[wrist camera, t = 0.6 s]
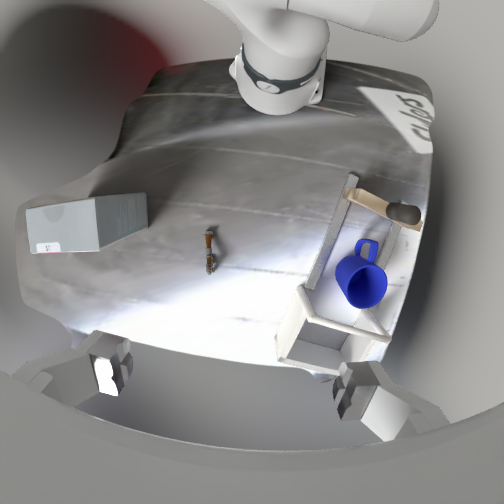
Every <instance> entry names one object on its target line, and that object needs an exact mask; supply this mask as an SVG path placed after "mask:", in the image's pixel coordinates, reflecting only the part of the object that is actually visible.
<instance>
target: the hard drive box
mask: <svg viewBox="0 0 504 504" xmlns="http://www.w3.org/2000/svg"><path fill="white" fill-rule="evenodd" d="M26 219H27V228H28V237H29V244H30V250H31V254H32V253H57V252H86V251H101V250H103V249H105V248H107V247H109V246H111V245H113V244H115V243H117V242H119V241H121V240H124V239H126V238H128V237H130V236H132V235H135V234H137V233H139V232H141V231H144V230H146V229H148V214H147V196H146V193H130V194H119V195H109V196H99V197H90V198H82V199H75V200H68V201H62V202H56V203H50V204H44V205H39V206H34V207H30V208H27V209H26Z"/></svg>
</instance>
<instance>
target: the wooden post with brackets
mask: <svg viewBox="0 0 504 504" xmlns="http://www.w3.org/2000/svg"><path fill="white" fill-rule="evenodd" d="M203 234H204V236H205V237H206V244H207V248H206V255H207V256H206V258H207V264H206V271H207V273H208V275H210V274H211V272H214V268H213V267H212V266H213V265H212V264H213V263H215V262H214V257H213V255H212V249H211V238H212V235H213V234H214V233H213V232H212V231H207V232H203Z"/></svg>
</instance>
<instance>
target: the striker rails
mask: <svg viewBox="0 0 504 504" xmlns="http://www.w3.org/2000/svg"><path fill="white" fill-rule="evenodd" d="M358 179H359V178H358V177H356V176H354V175H352V174H348V176H347V179H346V182H345V185H344V187H343V190H342V193H341V196H340V198H339V201H338V204H337V206H336V209H335V211H334V214H333V217H332V219H331V222H330V224H329V227H328V229H327V232H326V234H325V237H324V239H323V242H322V244H321V247H320V249H319V251H318V254H317V256H316V259H315V261H314V263H313V266H312V268H311V270H310V273H309V275H308V277H307V280H306V282H305V284H304V287H305V288H308V289H311V290H314V288H315V286H316V284H317V282H318V280H319V277H320V275H321V273H322V270H323V268H324V266H325V263H326V261H327V259H328V256H329V254H330V252H331V249H332V247H333V244H334V242H335V240H336V237H337V235H338V232H339V230H340V227H341V225H342V222H343V220H344V217H345V214H346V212H347V209H348V207H349V204H350V201H349V200H347V199H344V195H345V192H346V189H347V188H353V189H355V188H356V185H357V182H358ZM399 203H400V204H406V205H409V204H408V203H406V202H404V201H402V200H400V202H399ZM401 227H402V226H400V225H398V224H396V223H394V222H392V224H391V227H390V230H389V232H388V235H387V237H386V240H385V242H384V245H383V247H382V250H381V252H380V254H379V257H378V259H377V261H376V264H375V265H377V266H379V267H380V268H381V269H382V270H383V271H384V268H385V266H386V264H387V262H388V259H389V257H390V254H391V252H392V250H393V247H394V245H395V242H396V240H397V237H398V235H399V232H400V229H401Z"/></svg>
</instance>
